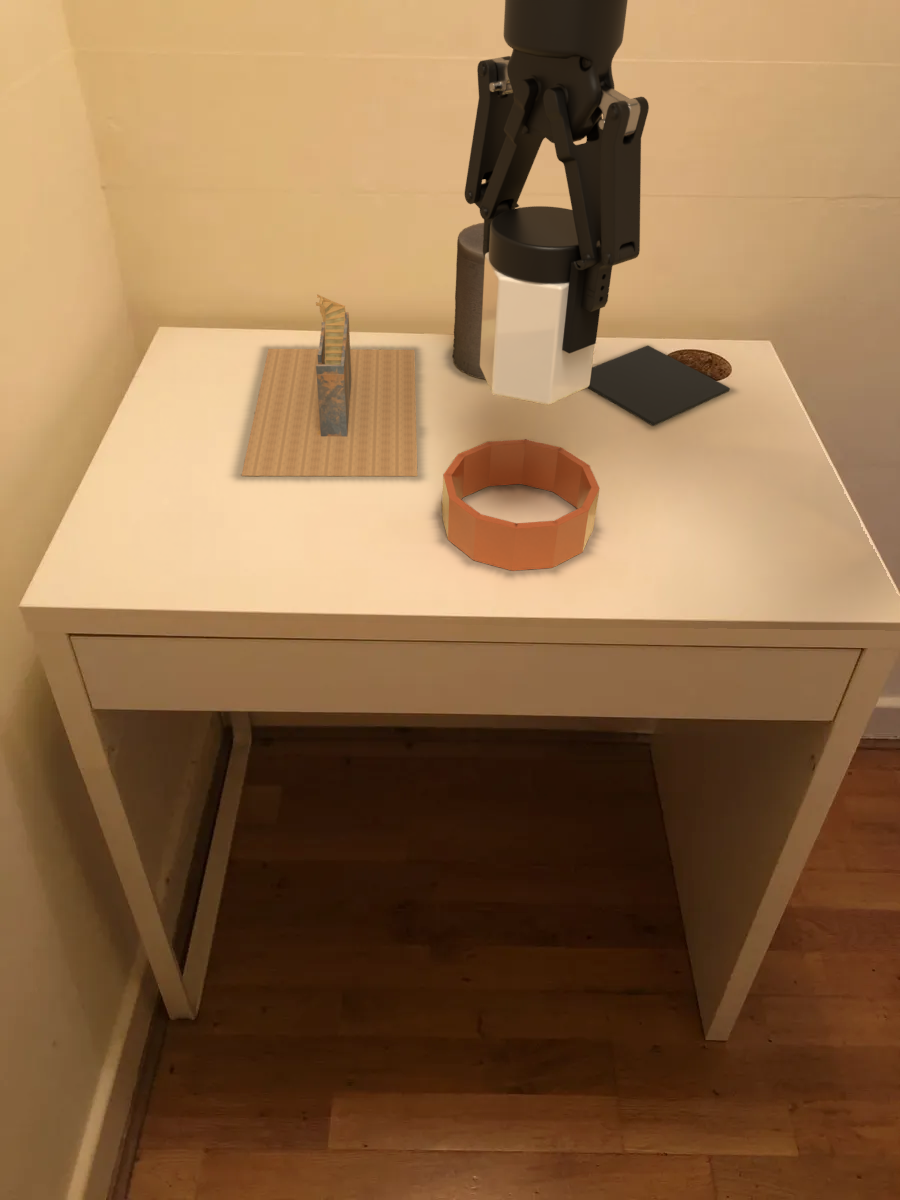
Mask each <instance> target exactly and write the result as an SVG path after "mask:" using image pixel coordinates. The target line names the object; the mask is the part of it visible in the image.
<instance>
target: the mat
mask: <svg viewBox="0 0 900 1200" xmlns="http://www.w3.org/2000/svg"><path fill="white" fill-rule="evenodd" d="M586 389H589V390H591V391H592V392H594V393H596V394H597V395H599V396H601V397H603V398H605V399H606V400H608V401H610V402H611V403H613V404H615V405H617V407H620V408H621V409H623V410H625V411H627V412H628V413H630V414H632V415H634V416H635V417H637V418H639V419H641V420H642V421H644V422H646V423H647V424H649V425H651V426H656V425H658V424H661V423H663V422H665V421H667V420H669V419H671V418H673V417H676V416H678V415H680V414H683V413H685V412H686V411H687V412H688V411H689V410H691V409H694V408H695V407H697V406H700V405H703V404H704V403H706V402H709V401H711V400H713V399H715V398H717V397H719V396H722V395H724V394H726V393H729V392H730V390H731V387H729V386H727V385H725V384H723V383H721V382H720V381H718V380H715V379H714V378H711V377H710V376H708V375H706V374H704V373H702V372H700V371H698V370H696V369H694V368H692V367H690V366H689V365H686V364H685V363H683V362H681V361H679V360H677V359H675V358H673V357H672V356H669V355H667V354H665V353H663V352H661V351H660V350H657V349H655V348H654V347H653V346H650V345H645V346H643V347H640V348H637V349H635V350H633V351H631V352H627V353H625V354H622V355H621V356H618V357H615V358H613V359H610V360H608V361H605V362H603V363H601V364H598V365H595V366H592V370H591V378H590V385H589V386H588V387H587V388H586Z"/></svg>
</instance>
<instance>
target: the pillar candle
mask: <svg viewBox="0 0 900 1200" xmlns="http://www.w3.org/2000/svg"><path fill="white" fill-rule="evenodd" d="M483 233H484V222H478V223H475V224H472V225H469V226H467V227H465V228H463V229H462V230H461V231H460V232H459V234H458V235H457V241H456V245H457V246H456V247H457V248H456V249H457V250H456V264H455V265H456V267H455V270H456V271H455V292H454V305H455V307H454V323H453V351H452V356H451V357H452V359H453V364H454V366H456V367H457V369H459V370H460V371H461V372H463V373H466V374H468V375H469V376H471V377H474V378H478V379H481V380H486V379H485V376H484V374H483V372H482V370H481V368H480V349H481V328H482V308H483V287H484V266H485V259H484V256H483V239H484V238H483Z"/></svg>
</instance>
